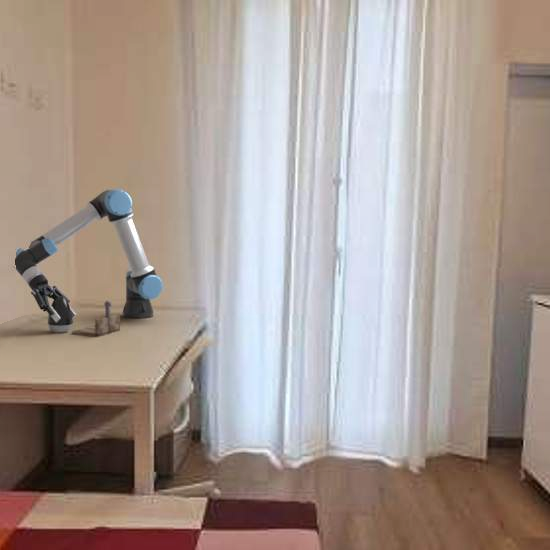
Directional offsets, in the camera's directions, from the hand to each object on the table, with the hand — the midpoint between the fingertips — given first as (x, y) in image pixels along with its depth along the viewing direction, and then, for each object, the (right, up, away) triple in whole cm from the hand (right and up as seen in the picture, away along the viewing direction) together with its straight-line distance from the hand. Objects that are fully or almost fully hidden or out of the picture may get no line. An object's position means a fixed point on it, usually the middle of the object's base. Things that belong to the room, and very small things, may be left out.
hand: (66, 318), depth 275 cm
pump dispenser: (-3, -6, +2) cm, 7 cm away
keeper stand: (+12, -6, +2) cm, 14 cm away
